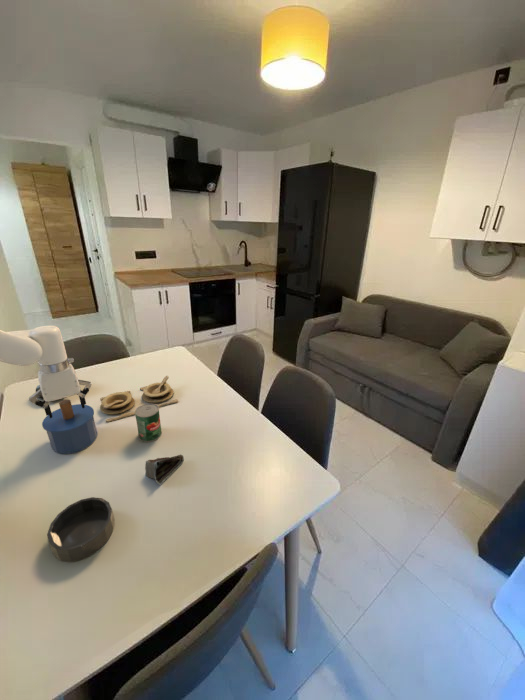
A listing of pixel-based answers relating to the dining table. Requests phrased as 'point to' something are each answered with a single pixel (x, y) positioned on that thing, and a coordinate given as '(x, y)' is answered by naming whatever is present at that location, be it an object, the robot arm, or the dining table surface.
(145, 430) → the canned tomato
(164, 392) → the tableware set
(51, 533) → the bowl
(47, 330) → the robot arm
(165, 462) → the chocolate cake
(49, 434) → the pot
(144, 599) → the dining table surface
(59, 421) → the pot lid
